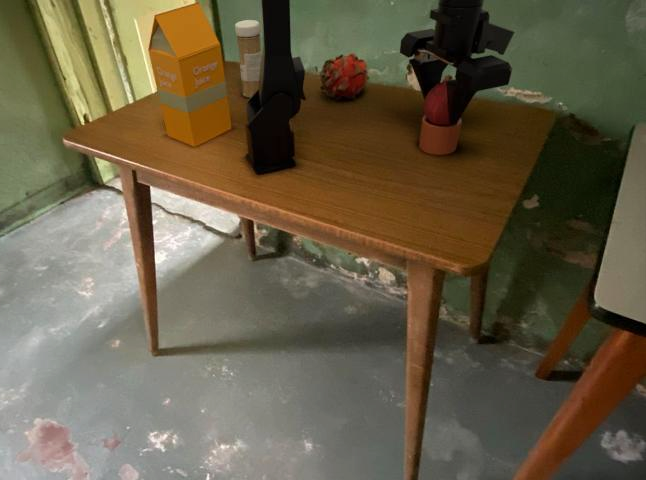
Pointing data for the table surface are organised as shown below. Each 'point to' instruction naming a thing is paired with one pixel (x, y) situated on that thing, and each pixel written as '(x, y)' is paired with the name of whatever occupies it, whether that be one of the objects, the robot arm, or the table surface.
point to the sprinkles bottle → (249, 54)
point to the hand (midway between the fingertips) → (441, 115)
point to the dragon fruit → (343, 76)
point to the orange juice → (189, 75)
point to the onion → (438, 104)
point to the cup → (439, 137)
